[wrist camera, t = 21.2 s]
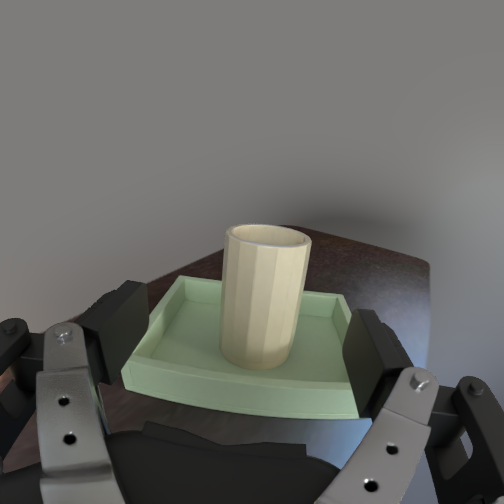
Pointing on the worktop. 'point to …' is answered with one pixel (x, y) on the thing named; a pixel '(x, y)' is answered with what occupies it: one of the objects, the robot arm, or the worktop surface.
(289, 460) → the robot arm
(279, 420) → the worktop surface
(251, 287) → the cup
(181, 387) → the tray
